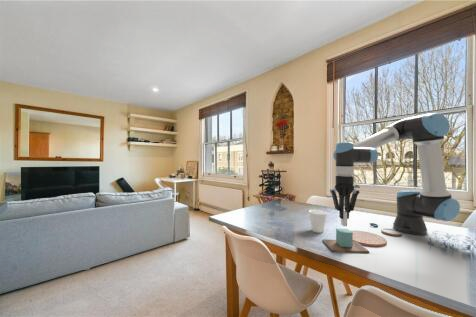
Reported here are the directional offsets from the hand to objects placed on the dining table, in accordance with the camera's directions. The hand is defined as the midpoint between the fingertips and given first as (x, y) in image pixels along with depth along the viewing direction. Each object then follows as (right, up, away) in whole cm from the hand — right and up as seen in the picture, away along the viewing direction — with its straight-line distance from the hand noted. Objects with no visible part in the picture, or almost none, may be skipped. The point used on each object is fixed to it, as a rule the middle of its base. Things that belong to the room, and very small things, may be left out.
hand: (344, 225), depth 95 cm
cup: (-4, -10, +20) cm, 23 cm away
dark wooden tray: (0, -10, 0) cm, 10 cm away
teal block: (0, -9, 0) cm, 9 cm away
